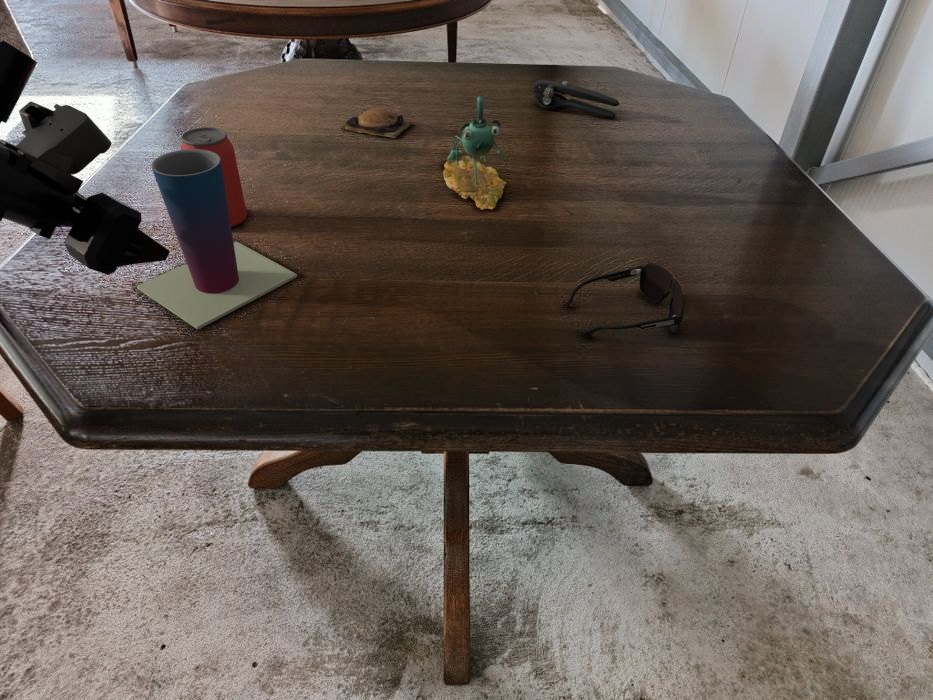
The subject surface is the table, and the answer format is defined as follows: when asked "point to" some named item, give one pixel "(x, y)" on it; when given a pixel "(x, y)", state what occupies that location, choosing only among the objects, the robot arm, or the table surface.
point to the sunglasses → (649, 295)
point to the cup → (199, 215)
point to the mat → (207, 307)
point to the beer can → (223, 147)
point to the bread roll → (378, 123)
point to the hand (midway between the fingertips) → (141, 240)
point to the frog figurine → (475, 163)
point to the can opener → (552, 100)
